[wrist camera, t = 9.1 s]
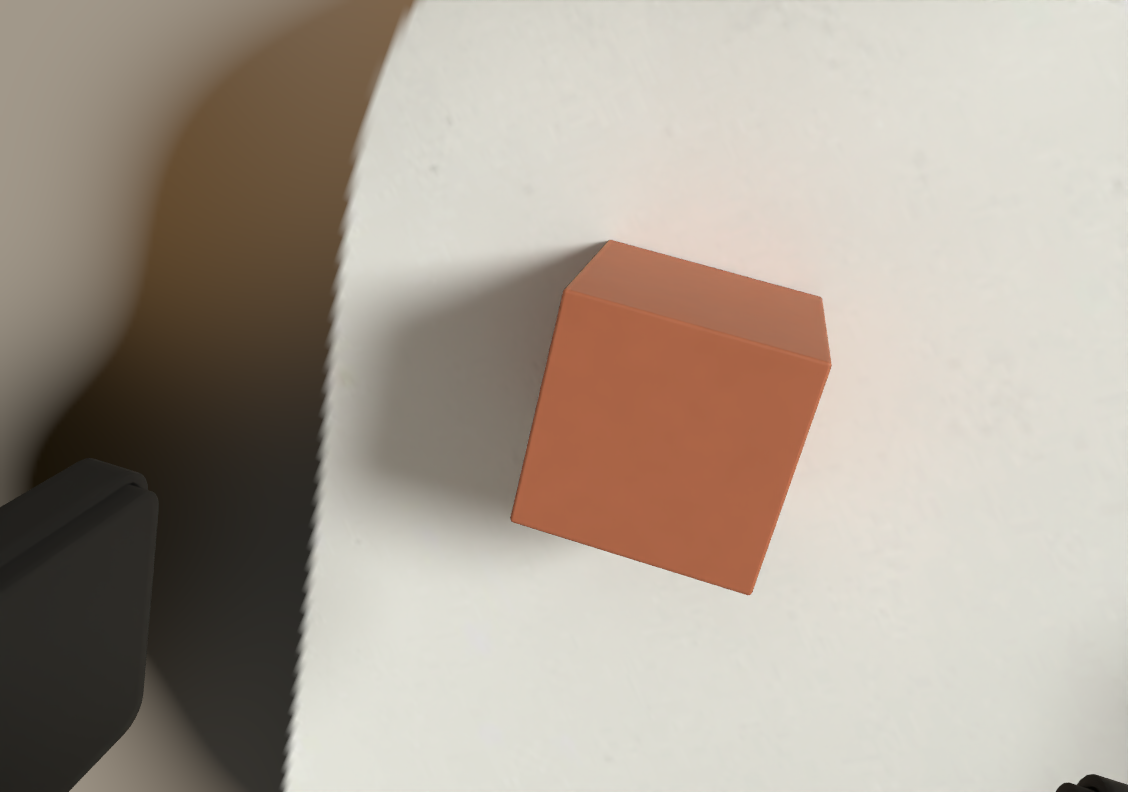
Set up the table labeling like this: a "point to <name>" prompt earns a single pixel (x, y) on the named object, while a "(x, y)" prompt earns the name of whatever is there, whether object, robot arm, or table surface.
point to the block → (673, 413)
